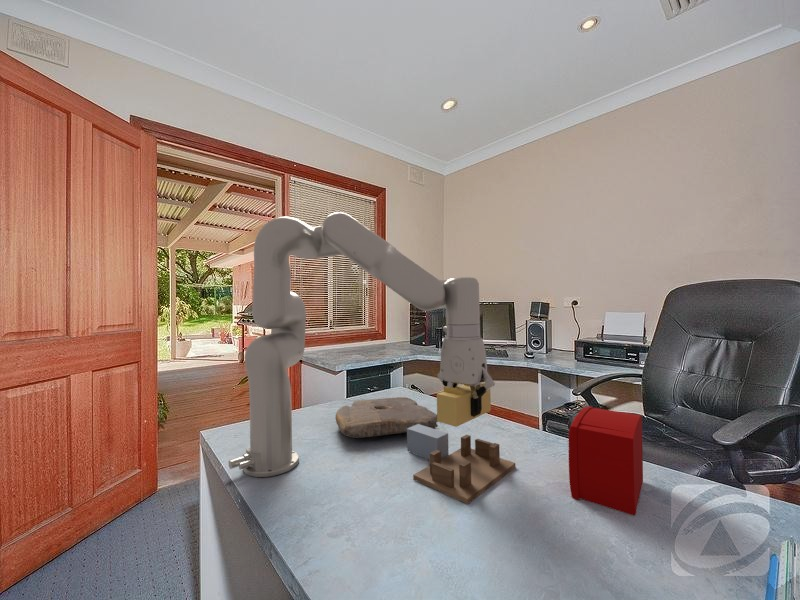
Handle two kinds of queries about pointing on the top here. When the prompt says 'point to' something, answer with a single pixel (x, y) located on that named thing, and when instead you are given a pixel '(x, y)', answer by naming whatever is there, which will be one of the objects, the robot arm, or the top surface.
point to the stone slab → (382, 417)
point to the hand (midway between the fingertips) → (465, 411)
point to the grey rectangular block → (426, 441)
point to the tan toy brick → (459, 405)
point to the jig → (465, 470)
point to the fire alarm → (606, 458)
